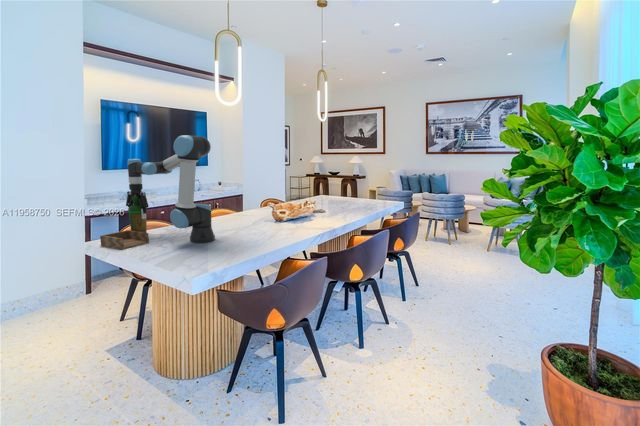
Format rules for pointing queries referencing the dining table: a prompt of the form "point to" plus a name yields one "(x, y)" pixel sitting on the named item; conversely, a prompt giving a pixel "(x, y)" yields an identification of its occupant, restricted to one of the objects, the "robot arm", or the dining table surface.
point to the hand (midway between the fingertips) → (138, 217)
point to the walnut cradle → (124, 239)
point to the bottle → (137, 217)
